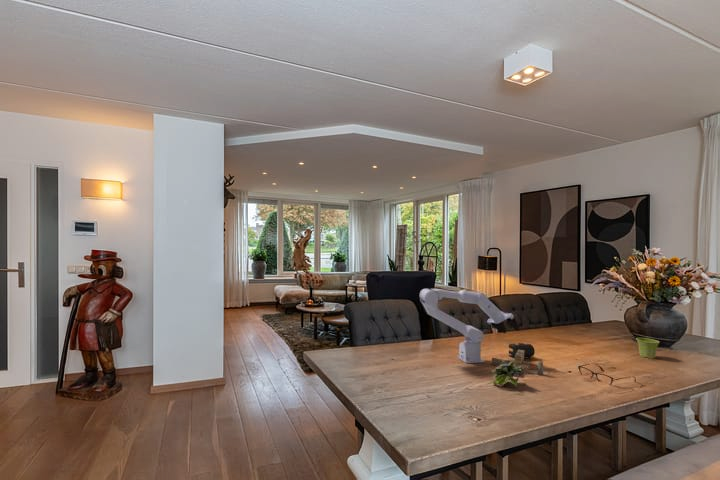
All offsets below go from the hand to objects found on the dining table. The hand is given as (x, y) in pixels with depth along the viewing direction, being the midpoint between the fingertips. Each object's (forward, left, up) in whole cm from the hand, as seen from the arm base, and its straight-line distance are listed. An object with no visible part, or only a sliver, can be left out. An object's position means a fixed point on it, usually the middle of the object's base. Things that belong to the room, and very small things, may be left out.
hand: (511, 330), depth 167 cm
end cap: (+7, +2, -15) cm, 17 cm away
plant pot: (+76, -7, -14) cm, 78 cm away
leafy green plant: (-23, -28, -14) cm, 38 cm away
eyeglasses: (+26, -28, -15) cm, 40 cm away
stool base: (-6, -12, -14) cm, 19 cm away
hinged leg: (-2, -7, -14) cm, 16 cm away
